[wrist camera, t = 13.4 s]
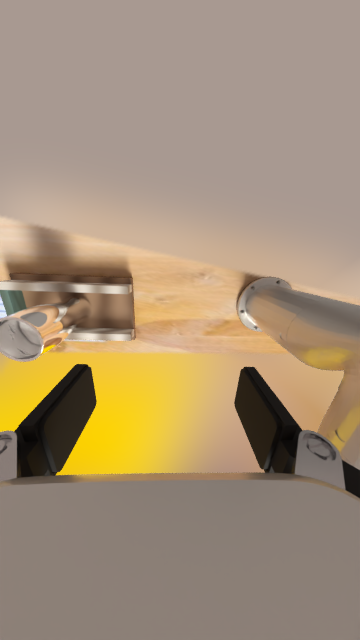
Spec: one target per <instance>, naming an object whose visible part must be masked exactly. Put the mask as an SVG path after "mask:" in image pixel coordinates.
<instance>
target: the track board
mask: <svg viewBox="0 0 360 640" xmlns="http://www.w3.org/2000/svg"><path fill="white" fill-rule="evenodd" d="M10 277H11V280H6V281H0V294H1V297H2V301H3V304H4V307H5V310H6V313H7V316H9V315H11V314H13V313H15V312H18V311H20V310H23V309H26V308H29V307H32V306H36V305H42V304H49V303H58V302H62V301H63V300H64V299H66V298H67V297H69V296H74V295H75V296H81V297H83V298H85V299H86V300H87V301H88V302H89V303H90V305H91V307H92V315H91V317H90V319H89V320H88V321H86V322H84V323H80V324H78V325H77V326H76V327H75V328H74V329H73V331H72V332H71V333H70V334H69V335H68V336H67V337H66V338H65V339H69V340H114V341H131V340H135V338H136V335H135V316H134V297H133V278H122V277H97V276H72V275H47V274H21V273H12V274H10Z"/></svg>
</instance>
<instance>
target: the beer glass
mask: <svg viewBox="0 0 360 640" xmlns="http://www.w3.org/2000/svg"><path fill="white" fill-rule="evenodd" d="M91 315H92V307H91V305H90V303H89V302H88V301H87V300H86V299H85V298H83V297H81V296H75V295H74V296H69V297H67V298H66V299H64V300H63V301H62V302H58V303H49V304H42V305H36V306H32V307H29V308H26V309H23V310H20V311H18V312H15V313H13V314H11V315H9V316H6V317H4V318H1V319H0V352H1V353H2V354H3V355H5V356H6V357H8V358H10V359H13V360H16V361H24V362H26V361H32V360H34V359H36V358H38V357H39V356H41V355H42V354H44V353H46V352H48V351H49V350H51V349H52V348H54V347H55V346H57V345H58V344H60V343H61V342H62V341H63V340H64V339H65V338H66V337H67V336H68V335H69V334H70V333H71V332H72V331H73V329H74V328H75V327H76V326H77V325H78V324H80V323H84V322H86V321H88V320H89V319H90V317H91Z"/></svg>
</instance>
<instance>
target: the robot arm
mask: <svg viewBox="0 0 360 640" xmlns="http://www.w3.org/2000/svg"><path fill="white" fill-rule="evenodd" d="M276 281H277V282H276ZM251 287H252V288H251ZM241 310H242V311H241ZM237 312H238V316H239V319H240V320H241V322H242V323H243V324H244V325H245V326H246V327H248V328H249V329H251V330H254V331H260V332H265V333H266V334H267V335H268V336H270V337H271V338H272V339H273V340H275V341H276V342H277V343H278V344H280V345H281V346H282V347H283V348H285V349H286V350H287V351H288V352H290V353H291V354H292V355H293V356H295V357H296V358H297V359H299V360H300V361H301V362H303V363H305V364H306V365H308V366H311V367H314V368H317V369H321V370H332V371H333V370H334V371H337V370H338V371H341V370H344V376H343V379H342V381H341V384H340V385H339V387H338V391H337V393H336V395H335V397H334V399H333V401H332V403H331V405H330V406H329V409H328V410H327V412H326V414H325V416H324V418H323V420H322V422H321V424H320V426H319V429H318V433H316V432H314V431H309V430H304V431H302V429H301V428H300V427H299V425H298V424H297V423H296V421H295V420H294V419H293V417H292V416H291V415H290V413H289V412H288V411H287V409H286V408H285V407H284V405H283V404H282V403H281V401H280V400H279V399H278V397H277V396H276V395H275V394H274V392H273V391H272V390H271V389H270V387H269V386H268V385H267V383H266V382H265V381H264V379H263V378H262V377H261V375H260V374H259V373H258V371H257V370H256V369H255V368H254V367H244V368H243V369H241V372H240V377H239V382H238V387H237V392H236V397H235V408H236V411H237V413H238V416H239V418H240V420H241V422H242V425H243V428H244V430H245V432H246V435H247V437H248V440H249V442H250V444H251V447H252V449H253V451H254V454H255V456H256V459H257V461H258V464H259V466H260V468H261V469H264V471H265V473H245V472H243V473H154V474H153V473H149V474H96V475H95V474H94V475H58V476H55V475H56V473H57V472H60V471H61V470H62V468H63V466H64V464H65V463H66V461H67V459H68V457H69V455H70V453H71V451H72V449H73V448H74V446H75V444H76V442H77V440H78V438H79V436H80V435H81V433H82V431H83V429H84V427H85V425H86V423H87V422H88V420H89V418H90V416H91V414H92V412H93V410H94V408H95V406H96V396H95V389H94V383H93V377H92V371H91V367H88V365H86V364H77V365H75V366H74V367H73V368H72V369H71V370H70V372H68V374H67V375H66V376H65V377H64V378H63V379H62V380H61V381H60V382H59V383H58V384H57V385H56V386H55V387H54V388H53V390H52V391H51V392H50V393H49V394H48V395H47V396H46V397H45V398H44V399H43V400H42V401H41V402H40V403H39V404H38V405H37V407H36V408H35V409H34V410H33V411H32V412H31V413H30V414H29V415H28V416H27V417H26V418H25V419H24V420H23V421H22V422H21V424H20V425H19V427H18V428H17V429H16V430H15V431H14V432H13V431H4V432H0V640H360V306H359V305H354V304H350V303H346V302H342V301H338V300H333V299H329V298H325V297H321V296H317V295H313V294H309V293H305V292H301V291H297V290H292V289H291V287H290V285H289V284H288V283H287V282H285V281H284V280H282V279H279V278H275V277H263V278H260V279H257V280H255V281H253V282H252V283H251V284H249V285H248V286H247V287H246V288H245V289H244V290H243V292H242V293H241V295H240V297H239V300H238V304H237Z"/></svg>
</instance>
